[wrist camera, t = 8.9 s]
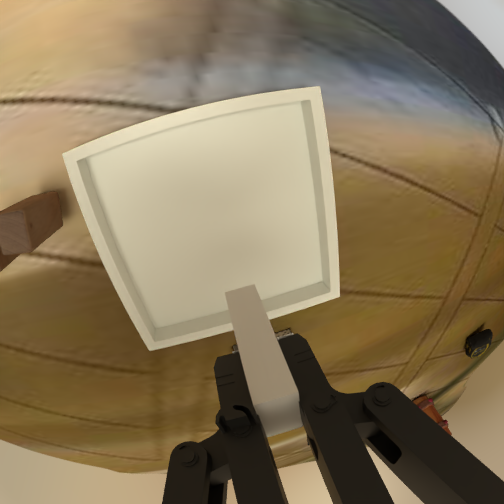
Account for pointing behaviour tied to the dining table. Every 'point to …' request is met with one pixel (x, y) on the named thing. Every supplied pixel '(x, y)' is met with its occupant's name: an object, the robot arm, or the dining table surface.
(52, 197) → the wooden block set
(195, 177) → the tray
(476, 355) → the tape measure
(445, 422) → the mug
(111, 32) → the dining table surface
